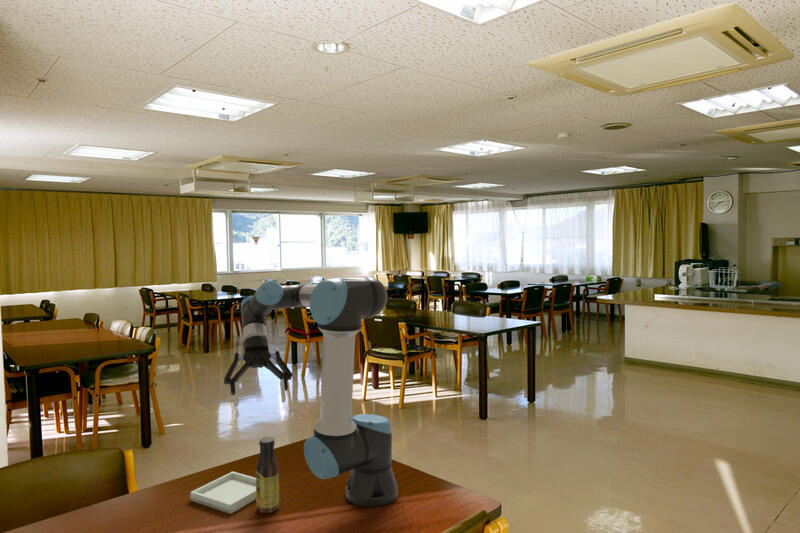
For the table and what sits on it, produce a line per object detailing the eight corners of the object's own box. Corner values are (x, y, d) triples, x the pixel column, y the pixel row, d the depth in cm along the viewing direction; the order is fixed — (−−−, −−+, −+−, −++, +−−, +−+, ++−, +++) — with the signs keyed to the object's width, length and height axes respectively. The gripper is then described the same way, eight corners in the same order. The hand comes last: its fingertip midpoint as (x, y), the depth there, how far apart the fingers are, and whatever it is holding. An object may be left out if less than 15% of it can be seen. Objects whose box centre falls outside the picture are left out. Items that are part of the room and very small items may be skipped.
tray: (271, 490, 159) (271, 482, 159) (230, 514, 145) (230, 505, 145) (232, 479, 166) (232, 471, 166) (190, 500, 152) (190, 492, 152)
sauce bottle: (258, 504, 150) (257, 435, 150) (280, 502, 151) (279, 434, 150) (254, 515, 144) (253, 443, 143) (277, 514, 145) (277, 442, 144)
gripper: (292, 344, 177) (300, 404, 165) (213, 348, 168) (215, 411, 155) (296, 332, 172) (304, 393, 160) (215, 335, 162) (217, 400, 150)
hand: (260, 402), depth 157 cm, fingers open, 13 cm apart
